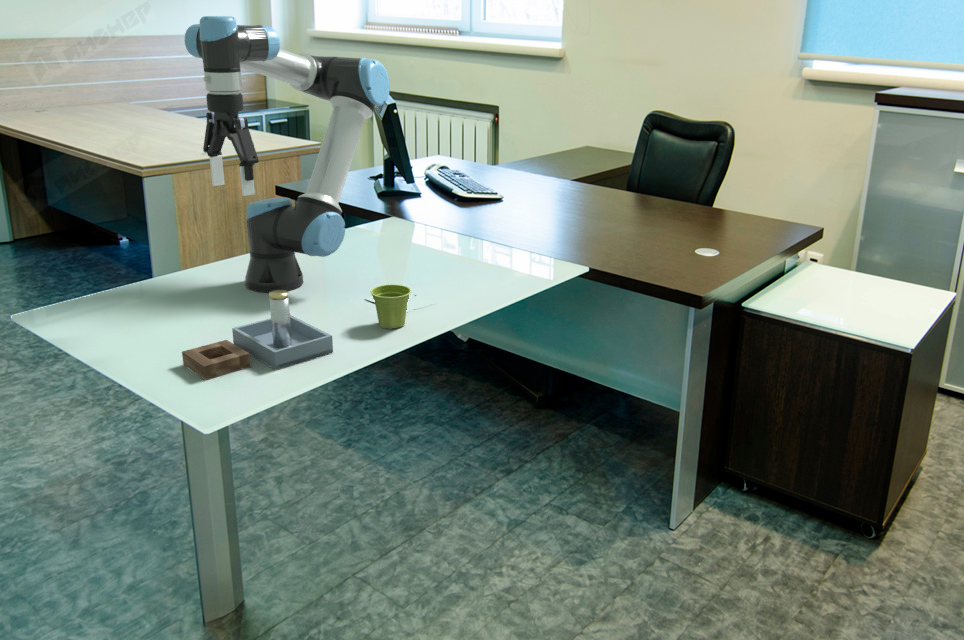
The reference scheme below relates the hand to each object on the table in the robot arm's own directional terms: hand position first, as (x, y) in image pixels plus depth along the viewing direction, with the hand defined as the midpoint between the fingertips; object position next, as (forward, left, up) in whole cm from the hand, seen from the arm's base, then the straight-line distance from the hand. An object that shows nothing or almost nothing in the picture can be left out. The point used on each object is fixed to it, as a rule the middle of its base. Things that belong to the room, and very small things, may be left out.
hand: (233, 190), depth 184 cm
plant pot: (-25, +25, -32) cm, 47 cm away
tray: (+2, +21, -32) cm, 38 cm away
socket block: (+17, +20, -32) cm, 41 cm away
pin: (+2, +21, -31) cm, 37 cm away
